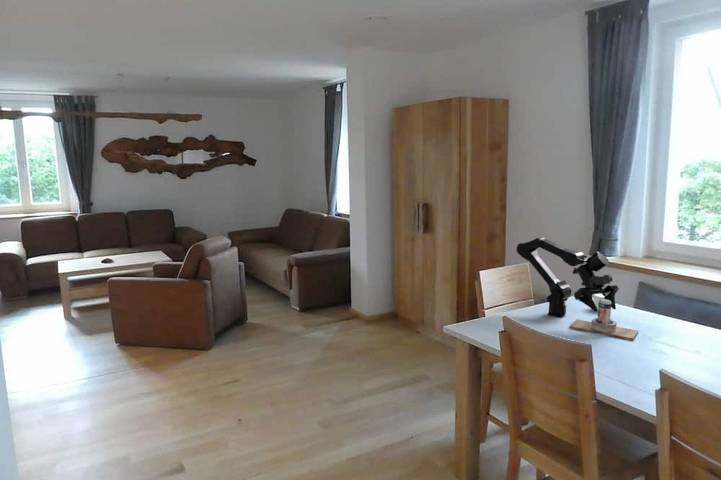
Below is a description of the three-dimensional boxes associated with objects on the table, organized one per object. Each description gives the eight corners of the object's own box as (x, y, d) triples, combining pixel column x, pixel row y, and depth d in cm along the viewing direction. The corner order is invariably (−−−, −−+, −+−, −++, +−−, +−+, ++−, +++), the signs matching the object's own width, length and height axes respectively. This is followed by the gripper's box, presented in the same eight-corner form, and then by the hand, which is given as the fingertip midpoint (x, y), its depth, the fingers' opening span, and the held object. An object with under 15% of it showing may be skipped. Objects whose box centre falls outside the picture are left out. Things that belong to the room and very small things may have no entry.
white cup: (605, 307, 243) (606, 293, 242) (610, 311, 236) (611, 297, 235) (590, 307, 243) (591, 292, 242) (595, 311, 237) (596, 296, 236)
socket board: (569, 328, 214) (569, 319, 214) (576, 321, 223) (577, 312, 222) (633, 340, 200) (633, 331, 199) (638, 332, 209) (639, 323, 208)
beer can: (594, 326, 214) (596, 298, 212) (605, 326, 214) (607, 298, 212) (600, 330, 209) (602, 302, 207) (611, 329, 209) (614, 301, 207)
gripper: (580, 269, 209) (598, 302, 200) (617, 265, 214) (636, 298, 206) (566, 283, 218) (582, 316, 209) (601, 279, 223) (619, 311, 215)
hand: (605, 310), depth 209 cm, fingers open, 9 cm apart
